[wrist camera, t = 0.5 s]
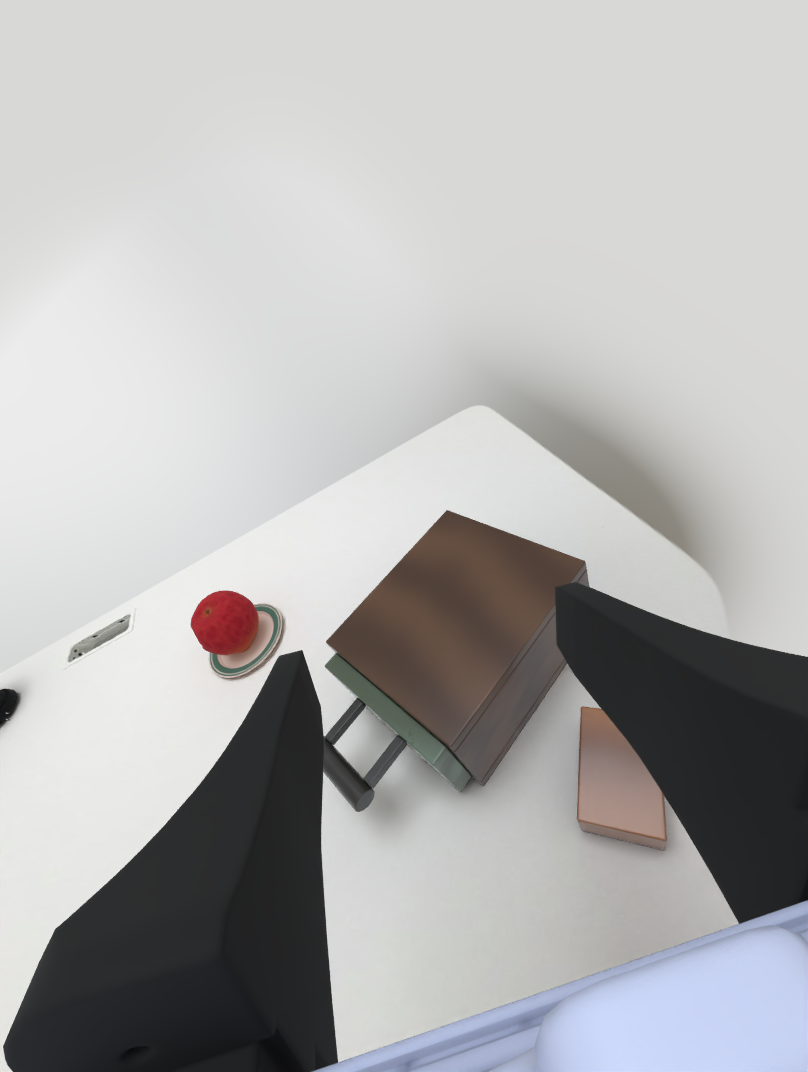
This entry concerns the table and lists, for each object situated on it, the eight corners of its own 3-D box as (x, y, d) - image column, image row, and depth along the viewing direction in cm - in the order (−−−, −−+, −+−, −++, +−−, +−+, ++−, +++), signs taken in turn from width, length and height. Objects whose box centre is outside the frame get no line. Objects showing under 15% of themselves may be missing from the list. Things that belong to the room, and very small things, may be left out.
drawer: (413, 862, 26) (375, 843, 22) (314, 748, 33) (275, 720, 29) (568, 636, 31) (559, 592, 28) (456, 579, 38) (437, 539, 35)
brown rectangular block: (665, 851, 23) (667, 841, 21) (581, 830, 25) (576, 820, 23) (657, 731, 26) (658, 715, 25) (584, 721, 28) (580, 705, 27)
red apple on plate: (259, 685, 40) (212, 648, 35) (198, 675, 43) (148, 641, 39) (297, 608, 44) (260, 568, 40) (239, 604, 48) (198, 567, 44)
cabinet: (483, 787, 28) (450, 747, 23) (367, 686, 36) (325, 641, 31) (595, 621, 32) (586, 560, 28) (470, 564, 40) (446, 509, 35)
